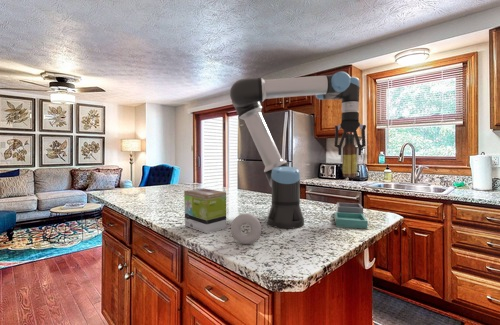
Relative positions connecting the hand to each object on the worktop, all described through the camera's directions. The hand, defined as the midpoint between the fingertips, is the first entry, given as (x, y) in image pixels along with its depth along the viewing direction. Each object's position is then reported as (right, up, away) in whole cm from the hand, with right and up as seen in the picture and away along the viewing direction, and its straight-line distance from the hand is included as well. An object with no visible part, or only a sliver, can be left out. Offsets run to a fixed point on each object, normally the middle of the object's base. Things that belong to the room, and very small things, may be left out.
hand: (349, 162), depth 122 cm
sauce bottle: (0, -7, 0) cm, 7 cm away
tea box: (-64, -26, -18) cm, 71 cm away
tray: (-4, -26, -12) cm, 29 cm away
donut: (-47, -27, -37) cm, 66 cm away
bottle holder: (0, -25, +1) cm, 25 cm away
